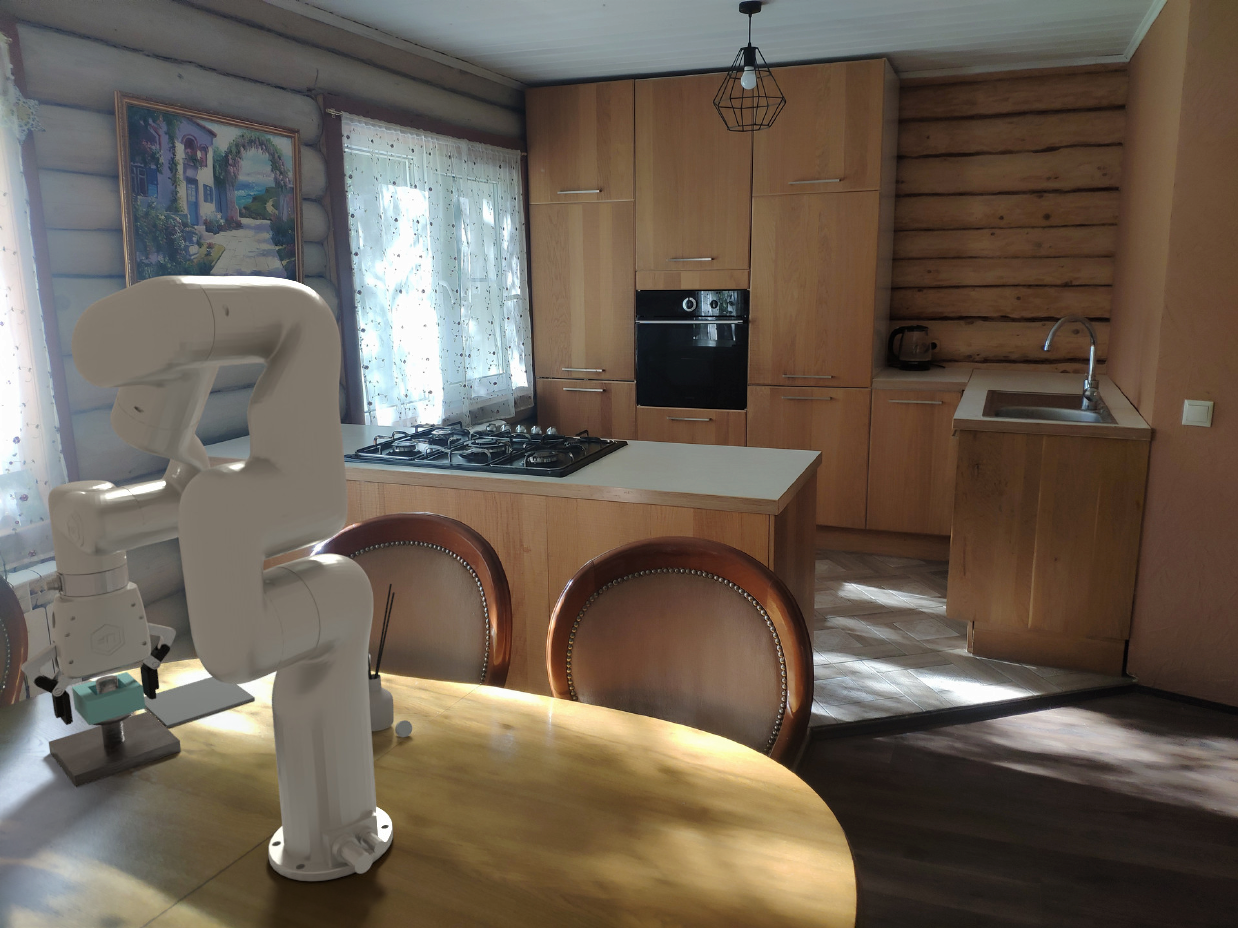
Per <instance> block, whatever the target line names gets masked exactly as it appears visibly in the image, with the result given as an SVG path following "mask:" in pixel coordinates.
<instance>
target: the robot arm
mask: <svg viewBox="0 0 1238 928" xmlns="http://www.w3.org/2000/svg"><path fill="white" fill-rule="evenodd" d="M71 355H72V359H73V363H74V365H75V368H76V370H77V372H78V374H79V375H80V376H81V377H82V378H83V379H84V380H85V382H88V383H90V384H91V385H93V386H96V387H98V388H103V389H104V388H106V389H112V388H118V391H117V393H116V397H115V401H114V403H113V405H112V408H111V409H112V410H111V413H110V425H111V427H112V429H113V431H114V433H115V434H116V435H117V437H118V438H120V439H121V440H122V441H123V442H124V443H125V444H128V445H129V446H130V447H133V448H134V449H136V450H138V451H141V452H145V453H146V454H150V455H154V456H156V457H157V456H158V457H161V458H164V459H165V458H166V459H168V460H169V463H168V466H167V468H166V470H165V472H164V474H163V476H162V478H161V479H156V480H150V481H144V482H139V483H133V484H126V485H123V486H118V487H117V486H116V485H115V484H114V483H113V482H110V481H107V480H97V479H96V480H95V479H92V480H89V479H88V480H79V481H72V482H67V483H63V484H60V485H56V486H54V488H52V489H51V490H50V492H49V494H48V497H47V498H48V499H47V504H48V513H49V518H50V520H49V522H50V527H51V536H52V543H53V550H54V552H53V553H54V559H55V560H54V561H55V567H56V570H55V575H54V577H51V578H50V579H46V580H44V581H43V583H44V584H43V585H44V589H45V591H46V592H49V591H50V592H51V591H53V592H57V594H56V595H55V596H54V599H53V604H52V621H51V623H52V624H51V626H52V629H51V631H52V632H51V633H52V637H51V638H52V643H51V644H49V645H48V646H46V647H45V648H44V649H42V650H41V651H39V652H38V653H36V654H35V655H33V656H32V657H31V658H29V659H28V660H26V661H25V662H23V663H22V664H21V666H20V669H21V671H22V672H23V673H24V674H25V676H26V677H28V679H30V681H31V682H32V683H33V684H34V685H35V686H36V687H38V688H40V689H41V690H44V691H46V692H48V693H50V694H51V698H52V706H53V712H54V716H55V718H56V719H59V718H60V719H61V721H62V722H63V723H64V725H66V726H68V725H72V723H73V722H74V720H73V711H72V704H71V697H70V693H69V692H68V691H67V690H66V689H67V688H68V687H69V685H70V684H71V682H72V681H73V679H76V680H77V679H78V680H79V679H81V678H82V679H83V678H86V677H90V676H91V677H92V676H94V675H98V674H103V673H105V672H106V673H107V672H110V671H113V670H117V669H121V668H125V667H128V666H131V665H135V664H138V663H140V662H142V664H141V666H140V669H139V670H140V678H141V685H142V686H143V692H144V696H147V697H148V698H149V699H151V700H153V699H156V693H157V690H159V689H160V680H159V671H158V669H159V668H160V667H161V664H162V662H163V660H164V659H165V658H166V657H167V655H168V654H169V653H170V651H171V645H172V644H173V643H174V639H175V637H176V634H177V631H176V629H175V628H173V627H172V626H171V627H170V626H166V625H160V624H155V623H151V622H148V619H147V616H146V610H145V608H144V602H143V600H142V597H141V592H140V591H139V587H138V584H136V583H134V582H132V581H130V580H129V579H130V577H129V569H128V560H127V551H130V550H134V549H136V548H140V547H143V546H148V545H152V544H157V543H161V542H165V541H169V540H172V539H177V538H178V543H179V551H180V558H181V565H182V566H181V568H182V574H183V582H184V588H185V589H184V590H185V597H186V604H187V612H188V613H187V614H188V620H189V626H190V633H191V637H192V642H193V645H194V649H195V652H196V655H197V658H198V659H199V661H200V663H201V665H202V667H203V668H204V670H205V671H206V672H207V673H208V674H209V675H210V677H214V678H215V679H217V680H218V681H220V682H223V683H227V684H237V685H241V684H246V683H250V682H253V681H257V680H259V679H261V678H265V677H267V676H269V675H271V674H273V673H275V675H274V680H273V684H272V685H273V686H272V689H271V690H272V692H271V712H272V725H273V738H274V748H275V749H274V751H275V759H276V770H277V771H276V772H277V781H278V783H277V784H278V795H279V804H280V814H281V815H280V816H281V826H280V827H279V828H278V829H277V831H275V833H274V834H273V835H272V837H271V839H270V840H269V842H268V846H267V849H268V860H269V864H270V866H271V867H272V869H273V870H274V871H276V872H277V873H278V874H280V875H281V876H284V877H286V878H288V879H292V880H297V881H302V882H303V881H304V882H319V881H320V882H323V881H328V880H334V879H339V878H341V877H345V876H349V875H352V874H354V873H357V874H360V875H361V874H364V873H366V872H367V871H369V869H370V868H371V866H372V865H373V863H374V862H376V861H377V860H378V859H379V858H380V857H382V855H383V854H385V852H386V851H387V850H388V849H389V847H390V845H391V844H392V842H393V841H392V840H393V838H394V829H393V828H394V827H393V821H392V819H391V817H390V815H388V813H386V812H385V811H384V810H382V809H380V808H379V807H377V795H376V780H375V767H374V751H373V750H374V749H373V734H372V733H373V731H371V717H370V698H369V682H368V650H369V647H370V638H371V637H370V636H371V632H372V626H373V625H372V624H373V618H374V617H373V616H374V593H373V588H372V584H371V581H370V579H369V577H368V575H367V573H366V571H365V570H364V569H363V568H362V567H361V565H359V563H357V561H355V560H353V559H351V558H350V557H348V556H345V555H341V554H336V553H320V554H313V555H309V556H305V557H302V558H297V559H294V560H292V561H291V560H290V561H289V562H288V561H287V562H285V563H282V564H281V563H280V564H278V565H274V566H271V567H269V568H267V569H265V570H264V563H265V562H264V561H266V560H269V559H273V558H276V557H279V556H282V555H283V556H284V555H286V554H289V553H291V552H295V551H299V550H301V549H305V548H308V547H311V546H314V545H316V544H320V543H323V542H325V541H327V540H330V539H332V538H333V537H334V536H337V534H339V533H340V532H341V531H342V529H343V528H345V525H346V522H347V519H348V515H349V514H348V510H349V508H348V507H349V501H348V498H349V497H348V485H347V475H346V463H345V453H344V444H343V443H344V442H343V431H342V424H341V415H340V414H341V413H340V403H339V402H340V398H339V397H340V396H339V395H340V394H339V393H340V378H341V377H340V375H341V367H342V366H341V365H342V363H341V362H342V344H341V336H340V330H339V327H338V323H337V320H336V317H335V315H334V313H333V311H332V309H331V308H330V306H329V304H327V302H326V301H325V299H324V298H323V297H322V296H321V295H320V294H318V292H316V291H315V290H314V289H312V288H311V287H309V286H306V284H305V285H304V284H302V283H300V282H297V281H293V280H289V279H285V278H278V277H267V276H253V275H252V276H248V275H247V276H245V275H243V276H242V275H227V276H224V275H223V276H221V275H219V276H217V275H163V276H161V275H160V276H156V277H151V278H148V279H147V278H146V279H145V280H142V281H139V282H137V283H134V284H132V285H130V286H128V287H126V288H123V289H121V290H118V291H116V292H114V293H111V294H109V295H107V296H105V297H102V298H100V299H98V300H97V301H96V300H95V302H93V303H91V304H90V305H89V306H88V307H87V308H86V309H84V310H83V312H82V313H81V315H80V316H79V318H78V319H77V322H76V323H75V325H74V328H73V332H72V336H71ZM258 363H259V364H264V365H266V367H265V368H264V370H263V371H262V373H261V374H259V375H260V376H259V377H258V379H257V381H256V383H255V385H254V387H253V390H252V392H251V394H250V395H251V396H250V398H249V401H248V405H247V409H246V410H247V412H246V419H247V425H248V426H247V428H248V432H249V448H250V449H249V456H248V458H247V459H245V460H239V461H235V462H229V463H223V464H222V463H221V464H218V465H214V466H211V463H210V459H209V456H208V453H207V450H206V448H205V446H204V444H203V443H202V441H201V440H200V438H199V437H198V436H197V434H196V430H197V429H198V425H199V422H200V421H201V417H202V415H203V412H204V410H205V406H206V404H207V401H208V398H209V395H210V393H211V390H212V388H213V385H214V382H215V379H216V377H217V374H218V371H219V370H220V367H224V366H225V367H226V366H236V365H245V364H246V365H247V364H258ZM151 635H152V636H157V637H160V638H159V642H157V644H156V645H155V647H154V648H153V649H152V641H151ZM52 660H54V664H55V667H56V668H57V669H56V671H55V672H54V674H53V675H52V676H51V677H49V676H46V675H44V674H42V673H41V671H40V670H41V668H43V667H44V666H45V665H46V664H48V663H49V662H50V661H52Z"/></svg>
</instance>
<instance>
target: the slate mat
mask: <svg viewBox="0 0 1238 928" xmlns="http://www.w3.org/2000/svg"><path fill="white" fill-rule="evenodd" d="M255 699H256V697H255V696H253V695H252V694H250V693H249V692H248V691H246V690H245V689H244V688H242V687H241V686H239V684H227V683H223V682H220V681H218V680H217V679H215V678H214V677H212V676H210V677H207V678H204V679H200V680H197V681H194V682H190V683H187V684H186V683H185V684H183V685H180V686H177V687H174V688H169V689H167V690H163V691H159V692H156V699H153V700H151V699H149V698H148V697H147V696H146V695H144V700H145V709H146V710H147V711H149V712H150V713H151V714H152V715H153V716H154V717H155V718H156V719H158V720H159V721H160V722H161V723H162V724H163V725H164V726H165V727H166V728H167V729H169V728H174V727H175V726H179V725H181V724H184V723H185V724H186V723H188V722H192V721H194V720H198V719H201V718H203V717H207V716H209V715H214V714H215V713H216V714H217V713H219V712H223V711H225V710H228V709H230V708H235V707H237V706H240V705H243V704H244V705H245V704H246V703H250V702H253V701H255Z"/></svg>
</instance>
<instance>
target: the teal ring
mask: <svg viewBox="0 0 1238 928" xmlns="http://www.w3.org/2000/svg"><path fill="white" fill-rule="evenodd" d="M113 675H114V674H113ZM114 676H117V679H118V687H119V689H117V690H113V691H110V692H106V693H103V694H99V695H97V688H96V680H93V681H89V682H86V683H81V684H78V685H75V686H71V687H72V688H71V689H72V690H71V691H72V698H73V704H74V710H75V711H76V712H77V713H78V715H80V716H81V718H82V719H83V720H84V722H86V723H87V724H88V726H91V725H92V724H95V723H98V722H102V721H105V720H108V719H112V718H115V717H118V716H122V715H125V714H128V713H131V712H134V713H135V712H138V711H141V710H144V709H146V708H145V700H144V697H145V694H144V692H143V686H142V683H141V682H138V680H136V679H135V678H134V677H133V676H132V675H131V674H130V673H129V672H127V671H126V672H121V673H119V674H115V675H114ZM92 726H93V725H92Z"/></svg>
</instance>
